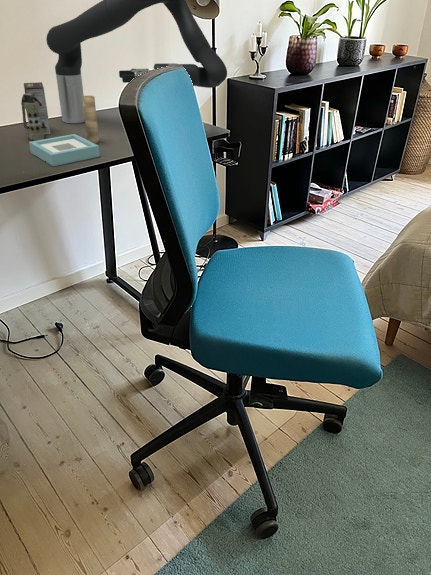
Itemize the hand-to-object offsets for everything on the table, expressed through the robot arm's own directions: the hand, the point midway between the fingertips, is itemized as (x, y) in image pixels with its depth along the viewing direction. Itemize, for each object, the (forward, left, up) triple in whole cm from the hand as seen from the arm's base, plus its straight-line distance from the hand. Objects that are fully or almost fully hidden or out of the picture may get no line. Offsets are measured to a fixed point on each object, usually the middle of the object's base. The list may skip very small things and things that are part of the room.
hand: (120, 76), depth 155 cm
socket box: (+2, -24, -21) cm, 32 cm away
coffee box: (-27, -19, -21) cm, 39 cm away
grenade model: (-20, -24, -21) cm, 38 cm away
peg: (-5, -10, -21) cm, 24 cm away
